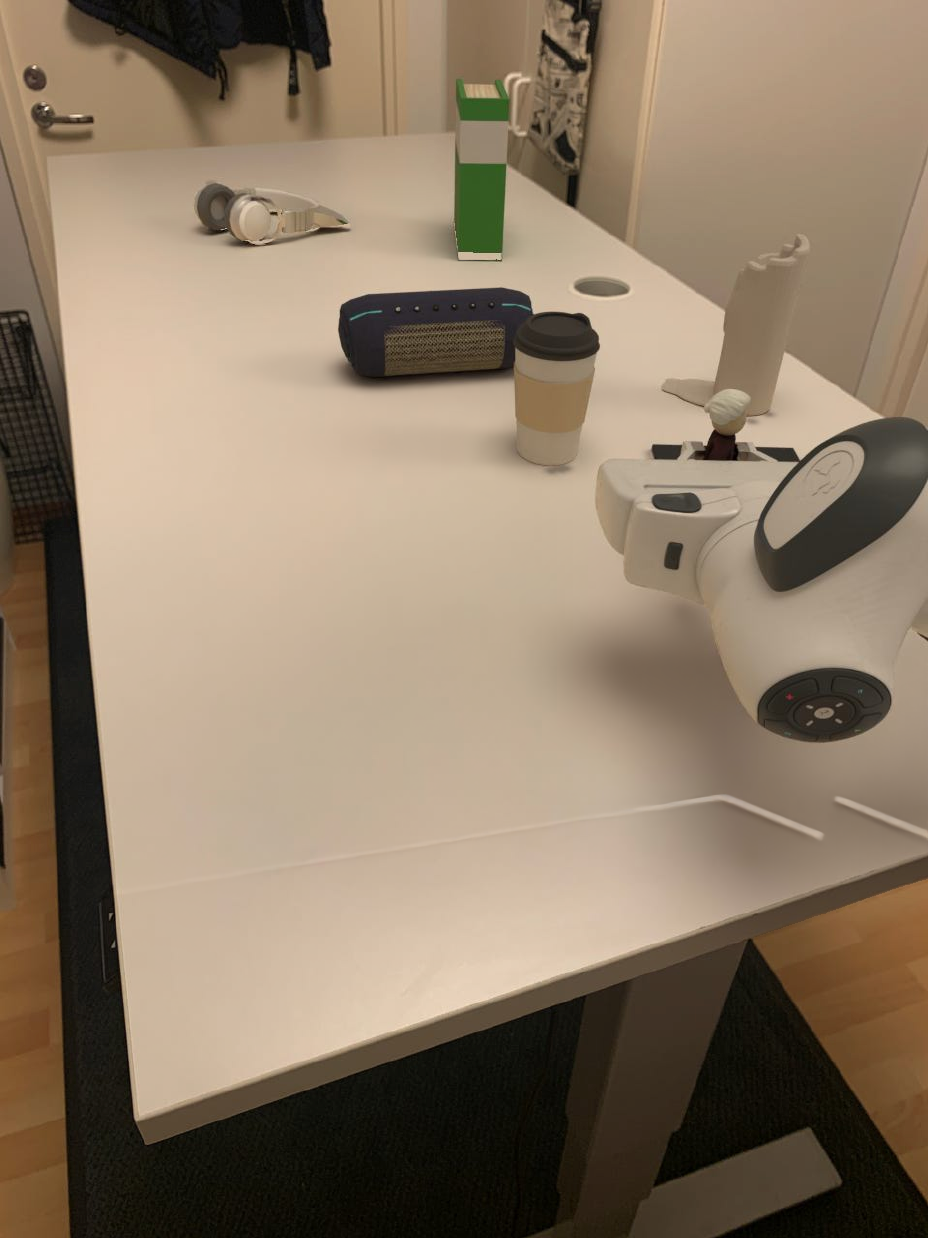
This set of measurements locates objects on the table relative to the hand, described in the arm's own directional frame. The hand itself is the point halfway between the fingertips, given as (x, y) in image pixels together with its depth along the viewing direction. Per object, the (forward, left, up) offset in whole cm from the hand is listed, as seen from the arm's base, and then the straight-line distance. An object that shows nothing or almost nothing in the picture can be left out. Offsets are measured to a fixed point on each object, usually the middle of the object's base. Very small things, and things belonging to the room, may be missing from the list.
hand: (715, 449), depth 73 cm
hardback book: (+19, -100, -15) cm, 103 cm away
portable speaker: (+24, -48, -15) cm, 55 cm away
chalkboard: (-9, -20, -15) cm, 27 cm away
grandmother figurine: (0, +1, -7) cm, 7 cm away
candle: (-11, -42, -15) cm, 46 cm away
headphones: (+57, -106, -15) cm, 122 cm away
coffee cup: (+11, -26, -15) cm, 32 cm away
